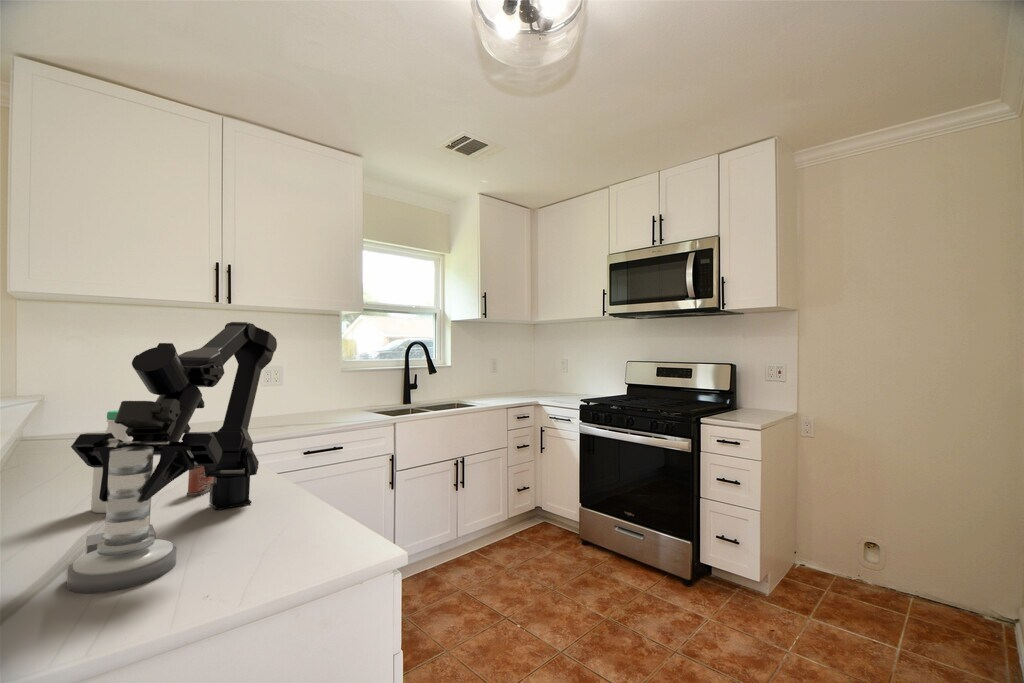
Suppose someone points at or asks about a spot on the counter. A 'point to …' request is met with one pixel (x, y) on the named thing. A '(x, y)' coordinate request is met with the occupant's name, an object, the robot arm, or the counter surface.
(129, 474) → the disc
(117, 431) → the milk bottle
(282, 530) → the counter surface
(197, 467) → the lighter
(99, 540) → the kitchen scale
